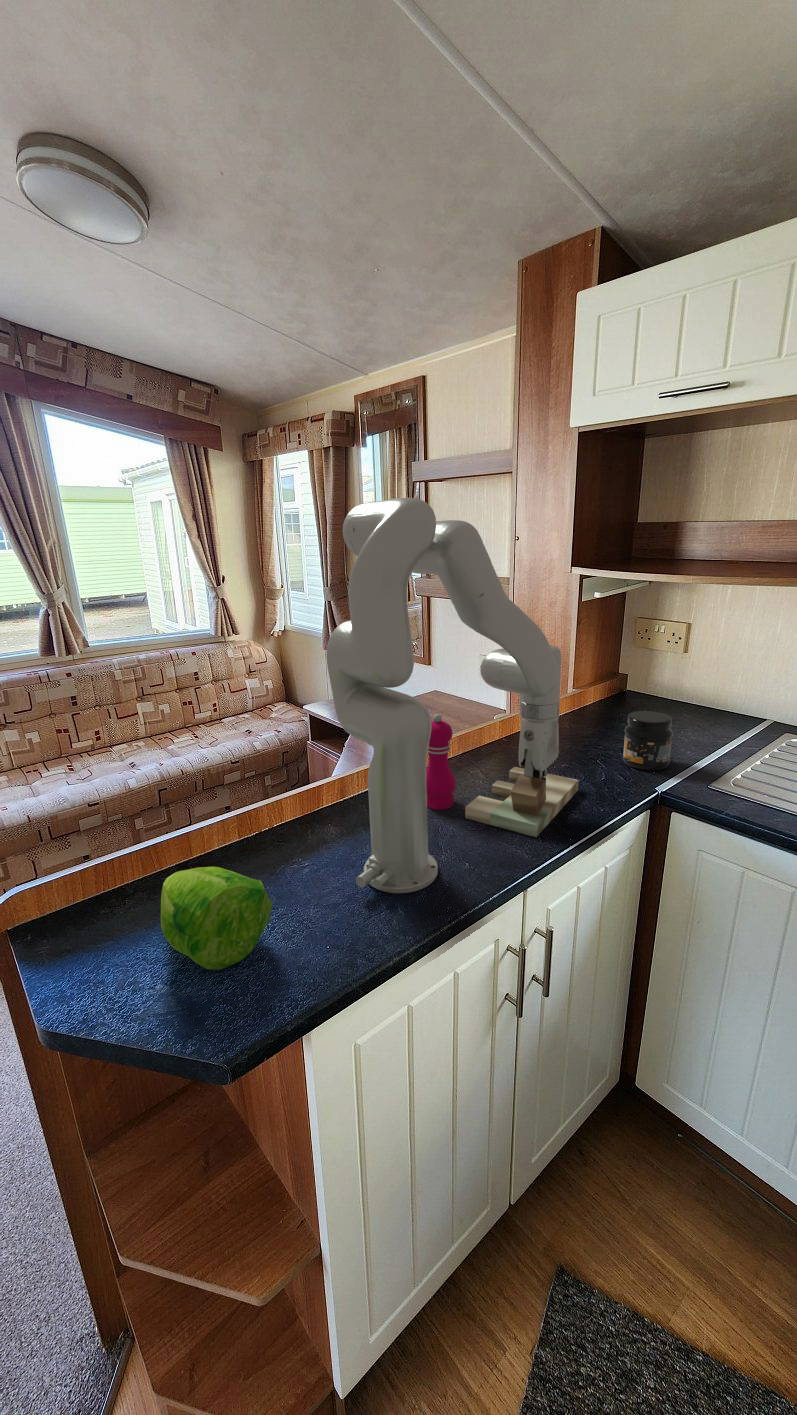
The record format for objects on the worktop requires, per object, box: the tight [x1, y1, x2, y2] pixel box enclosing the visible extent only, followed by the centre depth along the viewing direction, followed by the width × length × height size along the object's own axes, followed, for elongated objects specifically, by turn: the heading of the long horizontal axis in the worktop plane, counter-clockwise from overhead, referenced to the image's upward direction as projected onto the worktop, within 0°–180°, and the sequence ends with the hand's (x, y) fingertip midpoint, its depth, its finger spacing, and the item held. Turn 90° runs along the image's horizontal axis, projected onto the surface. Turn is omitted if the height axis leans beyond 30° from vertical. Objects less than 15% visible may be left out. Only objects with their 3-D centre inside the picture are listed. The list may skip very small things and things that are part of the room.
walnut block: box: [511, 775, 546, 816], centre depth 111 cm, size 5×5×5 cm
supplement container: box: [622, 710, 674, 772], centre depth 137 cm, size 10×10×12 cm
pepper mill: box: [426, 713, 457, 811], centre depth 119 cm, size 7×7×20 cm
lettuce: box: [160, 866, 274, 971], centre depth 80 cm, size 14×20×12 cm
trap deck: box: [464, 766, 579, 838], centre depth 120 cm, size 24×15×2 cm, turn 145°
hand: (536, 795), depth 115 cm, fingers closed
